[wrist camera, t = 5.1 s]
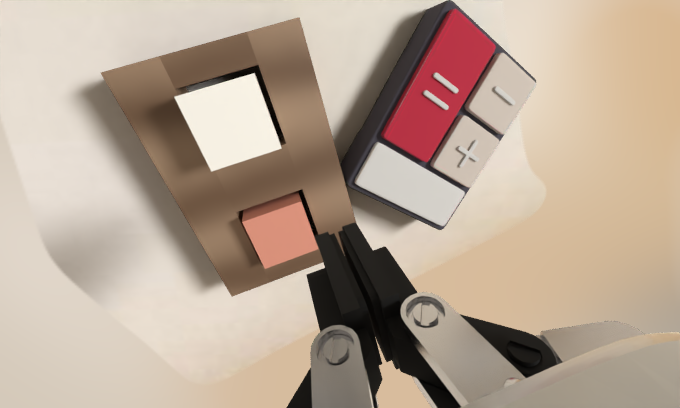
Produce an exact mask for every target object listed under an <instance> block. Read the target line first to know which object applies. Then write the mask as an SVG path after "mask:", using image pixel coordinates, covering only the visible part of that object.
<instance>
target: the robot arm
mask: <svg viewBox="0 0 680 408" xmlns="http://www.w3.org/2000/svg"><path fill="white" fill-rule="evenodd" d="M338 234H339V237H340V241H341V245H342V248H343V251H342V249H341V247H340V245H339V242H338V240H337V238H336V236H335V234H334V233H333V234H330V235H329V233H328V232H325V233H322V234H319V235H316V236H315V238H316V241H317V244H318V247H319V250H320V253H321V256H322V259H323V262H324V265H325V268H324V269H321V270H318V271H316V272H313V273H310V274H307V279H308V283H309V287H310V291H311V295H312V300H313V304H314V308H315V312H316V316H317V320H318V324H319V328H320V333H319V334H318V335H317V336H316V338H315V339H314V341H313V343H312V346H311V368H310V370H309V371H308V373H307V375H306V376H305V378H304V380H303V381H302V383H301V385H300V387H299V388H298V390H297V391H296V393H295V395H294V396H293V398H292V400H291V401H290V403H289V405H288V406H287V408H379V405H378V401H377V397H376V393H377V391H378V389H379V386H380V384H381V381H382V376H381V372H380V369H379V365H381V364H382V362H381V358H380V354H379V350H378V346H377V342H378V344H379V346H380V348H381V351H382V353H383V355H384V358H385V360H386V361H387V362H388V361H391V360H392V361H393V364H394V366H395V368H396V369H400V371H401V372H403V373H406V374H408V375H411V376H412V377H413V380H414V382H415V383H416V385H417V386H418V388H419V389H420V391H421V392H422V394H423V395H424V397H425V398H426V400H427V401H428V403H429V404H430V405H431V407H432V408H680V332H667V333H652V334H646V335H645V334H644V333H643V332H641V331H640V330H639V329H636V328H634V327H632V326H630V325H628V324H625V323H621V322H617V321H604V322H598V323H591V324H585V325H579V326H572V327H566V328H559V329H552V330H546V331H541V335H536V336H534V335H532V334H529V333H526V332H523V331H520V330H516V329H512V328H508V327H505V326H501V325H497V324H494V323H490V322H486V321H483V320H479V319H474V318H471V317H468V316H463V315H460V314H459V313H457V312H456V311H455V310H454V309H453V308H452V307H451V306H450V305H449V304H448V303H447V302H446V301H445V300H444V299H442V298H441V297H439V296H438V295H435V294H433V293H426V292H422V293H417V291H416V290H415V288H414V287H413V285H412V284H411V282H410V281H409V280H408V278H407V277H406V275H405V274H404V272H403V271H402V269H401V268H400V267H399V265H398V264H397V262H396V261H395V259H394V258H393V256H392V255H391V254H390V252H389V251H388V249H387V248H386V247H382V248H379V249H377V250H374V251H373V250H372V249H371V247H370V245H369V244H368V242H367V240H366V239H365V237H364V235H363V234H362V232H361V231H360V229H359V227H358V226H357V224H356V223H355V222H354V223H351V224H348V225H345V226H342V231H339V232H338ZM343 252H344V253H343ZM344 255H345V256H344ZM375 337H376V338H375ZM376 339H377V342H376Z"/></svg>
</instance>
